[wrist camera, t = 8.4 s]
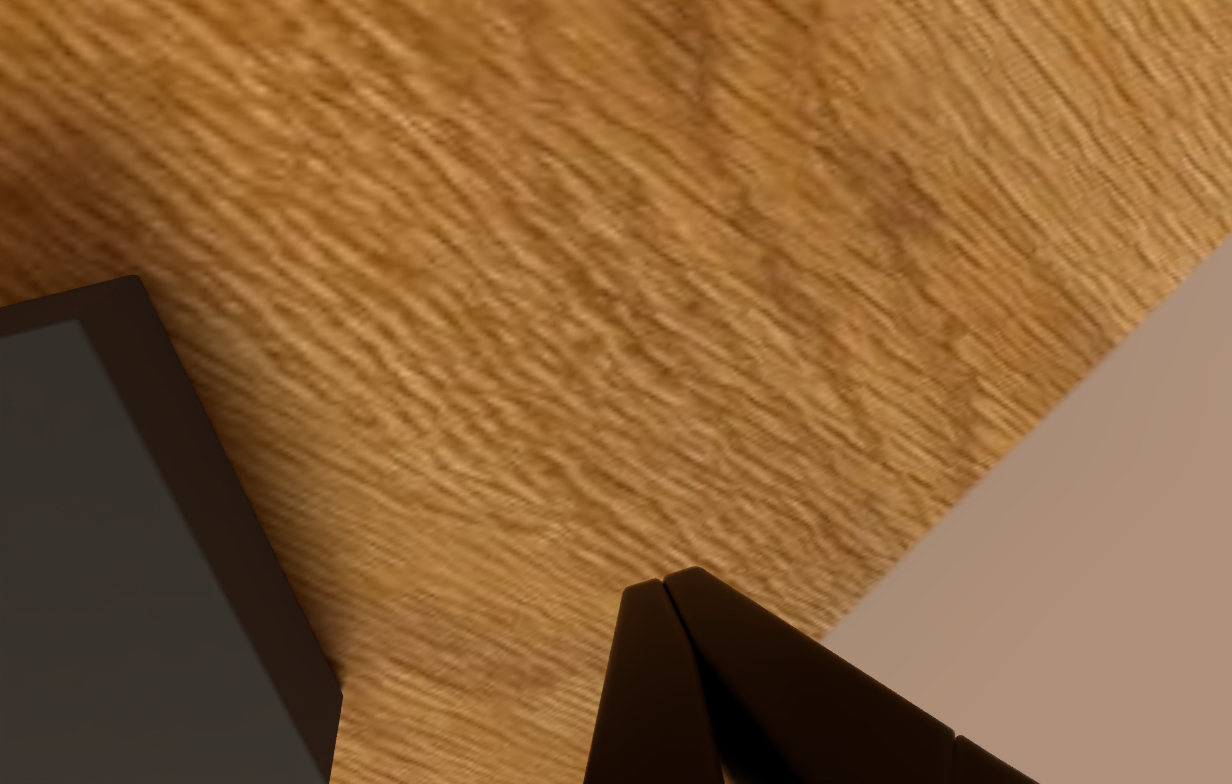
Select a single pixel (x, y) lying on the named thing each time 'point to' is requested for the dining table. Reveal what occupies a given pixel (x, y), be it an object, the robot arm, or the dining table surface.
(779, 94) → the dining table surface
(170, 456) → the dark grey tabbed block
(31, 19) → the dining table surface
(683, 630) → the robot arm
